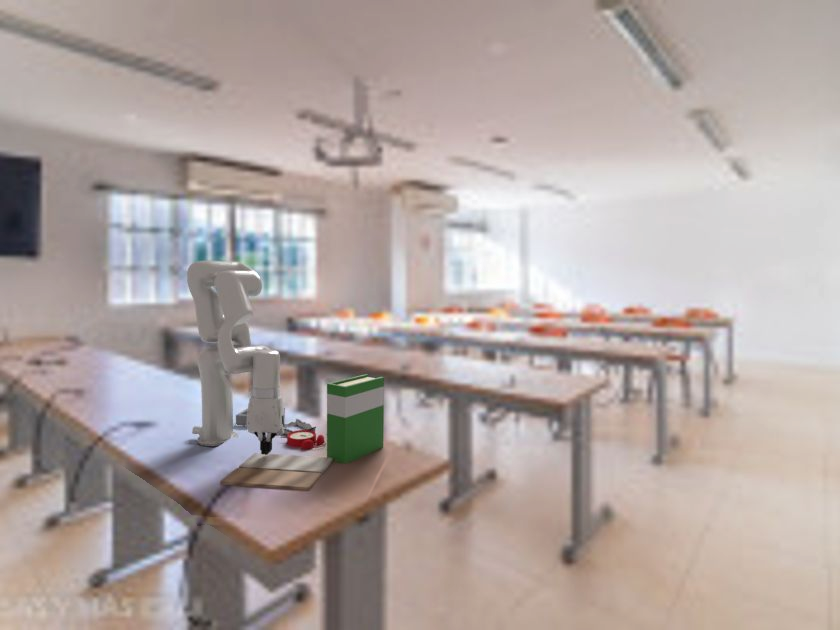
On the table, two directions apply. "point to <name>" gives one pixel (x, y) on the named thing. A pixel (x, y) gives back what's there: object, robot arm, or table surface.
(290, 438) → the alarm clock
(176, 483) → the table surface
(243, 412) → the grey tray
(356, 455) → the hardback book
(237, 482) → the walnut plank
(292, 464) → the grey oak plank
